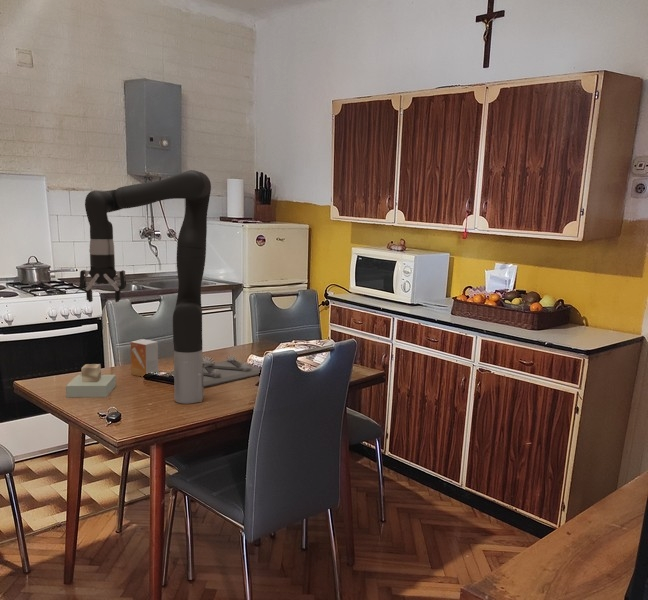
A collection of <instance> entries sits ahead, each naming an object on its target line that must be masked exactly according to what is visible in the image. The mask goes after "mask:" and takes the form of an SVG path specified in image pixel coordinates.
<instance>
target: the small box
mask: <svg viewBox="0 0 648 600" xmlns="http://www.w3.org/2000/svg"><path fill="white" fill-rule="evenodd" d="M130 363H131V364H130V365H131V367H130V370H131V372H130V373H131V375H133V376H136V377H137V376H138V377H140V376H141V378H144V377H143V376H144V375H145V374H148V373H151V372H158V373H159V342H158V341H155V340H150V339H144V338H141V339H137V340H133V341H130Z"/></svg>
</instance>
